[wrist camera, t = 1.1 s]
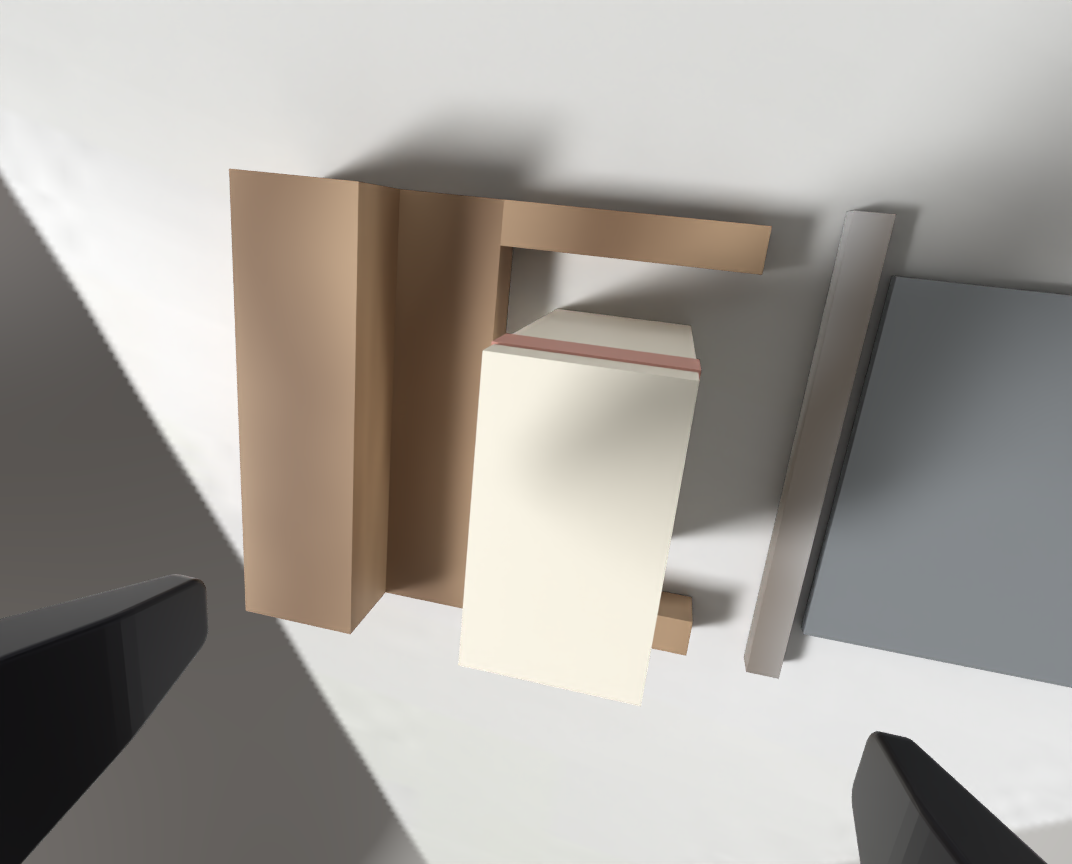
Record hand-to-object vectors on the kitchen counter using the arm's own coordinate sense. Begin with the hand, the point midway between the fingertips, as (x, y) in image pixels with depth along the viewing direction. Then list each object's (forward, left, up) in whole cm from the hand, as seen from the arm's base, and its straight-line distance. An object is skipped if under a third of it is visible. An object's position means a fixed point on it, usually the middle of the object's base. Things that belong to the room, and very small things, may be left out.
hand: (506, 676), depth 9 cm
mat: (-11, 0, -12) cm, 17 cm away
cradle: (+2, 0, -12) cm, 13 cm away
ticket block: (0, 0, -13) cm, 13 cm away
